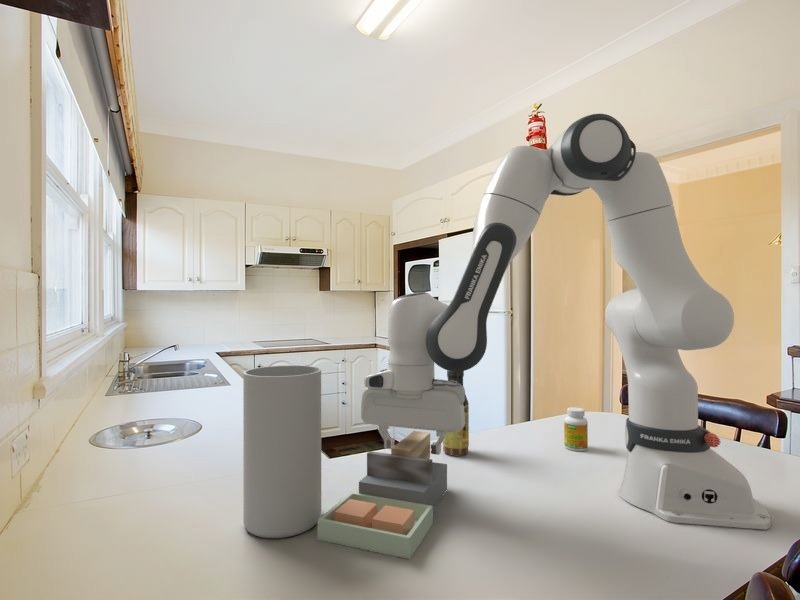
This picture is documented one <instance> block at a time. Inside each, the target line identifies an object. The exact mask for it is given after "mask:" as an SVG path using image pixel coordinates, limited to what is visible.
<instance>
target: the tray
mask: <svg viewBox="0 0 800 600" xmlns="http://www.w3.org/2000/svg"><path fill="white" fill-rule="evenodd" d="M349 499H353V500H359V501H364V502H369V503H375V504H377V513H378V512H379V511H380V510H381V509H382V508H383V507H384V506H385V505H387V506H393V507H399V508H404V509H410V510H414V527H413V528H412V529H411V531H410V532H409V533H408V535H402V534H397V533H392V532H387V531H382V530H377V529H372V528H367V527H362V526H357V525H352V524H347V523H342V522H337V521H335V511H336V510H337V509H338V508H340V507H341V506H342V505H343V504H344V503H346V502H347V501H348V500H349ZM433 521H434V509H433V506H431V505H425V504H419V503H413V502H407V501H401V500H396V499H390V498H384V497H378V496H372V495H366V494H360V493H359V492H353V491H350V492H349V493H348V494H347V495H346V496H344V497H343V498H341V500H340V501H338V502H337V503H336V504H335V505H334V506H332V507H331V508H330V509H329V510H327V511H326V513H324V514H323V515H321V517H320V518H319V519H318V522H317V540H318V541H323V542H328V543H333V544H337V545H342V546H347V547H351V548H354V549H359V548H360V550H364V551H368V550H369V552H373V551H374V553H377V552H378V554H382V555H383V554H384V555H387V556H392V557H397V558H401V559H406V560H410V559H411V558H412V556H413V554H414V553H416V551H417V549H418V547H419V546H420V545H421V543H422V542H423V540H424V539H425V537H426V535H427V533H429V531H430V530H431V528H432V526H433V525H432V524H434V522H433Z"/></svg>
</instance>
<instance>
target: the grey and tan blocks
mask: <svg viewBox="0 0 800 600" xmlns="http://www.w3.org/2000/svg"><path fill="white" fill-rule="evenodd" d="M430 458H431V432H426V431H416V430H413V431H411V432H410V433H409V434H408V435H407V436H405V437H404V438H403V439H402V440H400V441H399V442H398V443H396V444H395V446H394V447H393V448H391V449H390V453H386V452H377V451H372V450H371V451H368V452H367V453H366V476H374V477H380V478H387V479H393V480H400V481H407V482H413V483H420V484H426V485H431V484H432V462H433V459H430Z"/></svg>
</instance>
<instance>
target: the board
mask: <svg viewBox="0 0 800 600" xmlns="http://www.w3.org/2000/svg"><path fill="white" fill-rule="evenodd" d="M446 490H447V491H448V464H447V463H441V462H433V461H432V484H431V485H426V484H420V483H413V482H407V481H400V480H393V479H387V478H380V477H374V476H367V475H365V476H364V477H363V478H362V479H360V480H359V481H358V493H360V494H366V495H372V496H378V497H384V498H390V499H396V500H401V501H407V502H413V503H419V504H425V505H431V506H433V510H434V509H435V508H436V506H437V505H438V504H437V503H439V502H440V501H441V499H442V498H443V497H442V496H444V495H445V494H446V492H447V491H446ZM445 491H446V492H445ZM444 493H445V494H444ZM443 494H444V495H443ZM441 497H442V498H441ZM439 500H440V501H439ZM436 504H437V505H436ZM434 507H435V508H434Z"/></svg>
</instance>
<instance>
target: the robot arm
mask: <svg viewBox="0 0 800 600" xmlns="http://www.w3.org/2000/svg"><path fill="white" fill-rule="evenodd" d="M636 147H637V146H636V144H635V143H634V142H633V141H632V139H631V138H630V136H629V134H628V132H627V130H626V128H625V127H624V126H623V125H622V123H621V122H620V121H619V120H617V118H615V117H614V116H611V115H610V114H605V113H594V114H589V115H585V116H583V117H581V118H579V119H577V120H575V121H574V122H573V123H571V125H569V126H568V128H567V129H566V130H564V131H563V132H562V133H561V134H560V135H558V137H557V138H556V139H555V140H554V141H553V143H552V144H551V145H550V146H549V147H548V148H547V149H543V148H542V149H540V148H538V147H536V146H531V145H519V146H515V147H512V148H511V149H510V150H508V151H507V152H506V153H505V155H504V156H503V158H502V160H501V161H500V163H498V165H497V167H496V169H495V170H494V172H493V174H492V176H491V178H490V179H489V182H488V184H487V186H486V189H485V191H484V193H483V195H482V198H481V200H480V203H479V206H478V210H477V211H476V215H475V220H474V225H473V230H472V247H471V254H470V257H469V260H468V263H467V265H466V268H465V270H464V272H463V274H462V277H461V279H460V282H459V283H458V287H457V289H456V291H455V292H454V293H455V294H454V297H453V298H452V300H451V302H450V303H449V304H446V303H444V302H442V301H441V300H438V299H437V298H435V297H433V296H432V295H431V294H430V293H428V292H423V291H422V292H414V293H409V294H404V295H401V296H398V297H396V298H395V299H394V300H392V301H391V304H390V306H389V308H388V309H389V310H388V320H387V342H388V347H389V356H388V359H387V368H385V369H382V370H379V371H378V372H375V373H371V374H370V375H367V376H366V377H364V380H363V383H364V387H365V389H364V390H363V393H362V394H361V400H360V401H361V402H360V419H361V420H362V422H363V423H364V424H365V425H370V426H371V425H372V426H378V433H379V434H380V436H381V437H382V440H383V442H384V443H383V447H384V449H386V450H391V448H393V447H394V446H395V445H396V444H395V441H396V440H395V439H396V438H395V437H391V435H390V433H389V431H388V430H389V429H390V427H393V428H401V429H402V428H404V429H414V430H425V431H432V432H433V431H434V432H435V434H436V437H438V439H437V441H435V442H432V443H430V455H440V454H441V453H442V444H443V440H444V438H445V436H446V435H447V432H454V433H458V432H459V431H461V430H462V429H463V427H464V426H465V411H464V405H463V403H464V401H465V394H466V389H465V387H463V386H464V385H463V386H462V385H461V384H460V383H457V381H454V380H450V381H448V379H447V380H446V379H436V378H435V365H437V367H439V368H441V369H442V370H445V371H447V370H448V371H453V372H460V371H468V370H470V369H472V368H474V367H476V366H477V365H478V364H479V362H481V360H482V359H483V358H484V355H485V353H486V350H487V346H488V345H487V344H488V334H487V333H488V332H487V323H488V322H487V321H488V317H489V314H490V313H489V312H490V310H491V307H492V305H493V302H494V300H495V297H496V295H497V292H498V290H499V287H500V284H501V282H502V280H503V277H504V274H505V273H506V270H507V269H508V268H509V265H511V263H512V262H513V260H514V259H515V257H517V255H518V254H519V253H520V252H521V250H522V249H523V247H524V246H525V245H526V244H527V242H528V241H529V239H530V237H531V235H532V234H533V232H534V230H535V228H536V226H537V224H538V221H539V220H540V217H541V215H542V211H543V209H544V207H545V203H546V201H547V200H548V198H549V197H550V195H553V196H554V195H555V196H563V197H566V196H567V197H568V196H575V195H578V194H580V193H582V192H584V191H586V190H589V189H591V190H592V191H594V192H595V193H596V195H598V198H599V199H600V201H601V203H602V205H603V210H604V216H605V220H606V225H607V229H608V235H609V240H610V244H611V249H612V251H613V252H612V253H613V257H614V261H615V262H616V264H617V265H618V266H619V267H620V268H621V269H623V270H624V271H625V272H626V273H627V274H628V276H629V277H630V278H631V280H632V282H633V283H634V285H635V287H636V288H632V289H629V290H627V291H624V292H621V293H619V294H617V295H615V296H613V297H612V298H611V299H610V300H609V302H608V304H607V305H606V307H605V308H606V309H605V311H604V312H605V313H604V320H605V324H606V326H607V329H609V331H610V332H611V334H612V335H613V336H614V338H615V339H616V342H617V344H618V347H619V350H620V352H621V355H622V356H621V357H622V359H623V363H624V367H625V368H624V369H625V370H626V378H627V389H628V390H627V394H628V397H627V398H628V417H627V418H626V419H625V421H626V422H625V427H624V428H625V429H624V430H625V432H624V433H625V435H624V436H625V437H624V438H625V447H626V449H627V453H626V462H625V468H624V472H623V473H624V474H623V478H622V481H621V485H620V488H619V490H618V492H619V493H618V494H619V495H620V496H621V497H622V499H623V500H625V502H627V503H629V504H631V505H633V506H635V507H637V508H640V509H643V510H644V511H647V512H650V513H652V514H654V515H655V516H657V517H659V518H660V519H663V520H664V521H665V522H670V523H678V524H691V525H701V526H702V525H703V526H716V527H729V528H740V529H743V528H744V529H751V530H752V529H753V530H754V529H755V530H768V529H769V528H771V525H772V519H771V515H770V514H769V511H768V510H767V508H765V506H764V505H762V504H761V503H760V502H759V500H758V501H757V500H756V499H755V498H753V492H752V490H751V487H750V484H749V481H748V480H747V478H746V476H745V475H744V474H743V473H742V472H741V471H740V470H739V469H738V468H736V466H734V465H733V464H731V463H730V462H729V461H728V460H726V459H725V458H724V457H722V456H721V454H719V453H717V452H716V451H715V450H713V449H712V448H718V447H719V446H721V438H719V437H718V436H717V435H716V434H715V433H713V432H711V431H710V430H708V429H706V428H705V427H703V426H701V425H699V389H698V388H699V387H698V383H697V381H696V379H695V377H694V376H693V374H692V373H690V371H688V369H687V368H686V366H685V365H684V363H683V361H682V358H681V356H680V352H679V350H681V351H696V350H704V349H705V350H706V349H711V348H715V347H718V346H719V345H722V344H723V343H724V342H725V341H726V340H727V339H728V338H729V337H730V335H731V333H732V332H733V328H734V324H735V314H734V310H733V306H732V304H731V303H730V301H729V300H728V298H727V297H725V295H723V294H722V293H720V292H719V291H717V290H715V289H714V288H713V287H712V286H711V285H709V283H708V282H706V280H705V279H704V278H703V277H702V276H701V275H700V273H699V271H698V270H697V269H696V268H697V267H695V265H694V264H693V262H692V261H691V259H690V257H689V255H688V253H687V251H686V248H685V245H684V243H683V239H682V235H681V231H680V227H679V224H678V219H677V214H676V211H675V206H674V201H673V197H672V194H671V190H670V186H669V184H668V181H667V178H666V176H665V174H664V171H663V169H662V168H661V165H660V163H659V161H658V159H657V158H656V157H655V156H654V155H652V154H651V153H648V152H644V151H637V148H636ZM632 150H633V151H632ZM457 385H459V386H460V387H458V386H457Z"/></svg>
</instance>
